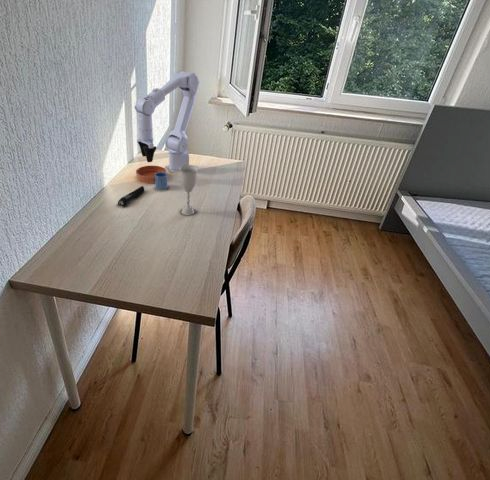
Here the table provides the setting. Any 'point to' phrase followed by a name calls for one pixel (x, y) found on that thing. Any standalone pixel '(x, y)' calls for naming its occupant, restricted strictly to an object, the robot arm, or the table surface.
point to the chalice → (188, 185)
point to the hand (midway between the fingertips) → (147, 158)
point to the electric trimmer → (130, 196)
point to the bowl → (148, 173)
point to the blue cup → (161, 181)
